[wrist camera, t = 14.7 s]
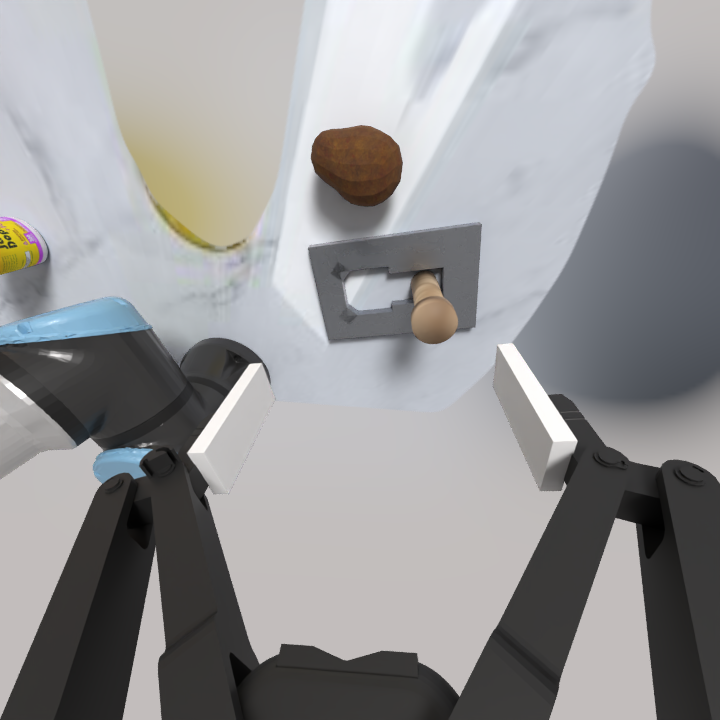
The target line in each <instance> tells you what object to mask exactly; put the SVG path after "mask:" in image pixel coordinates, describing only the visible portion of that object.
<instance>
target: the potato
mask: <svg viewBox="0 0 720 720" xmlns="http://www.w3.org/2000/svg"><path fill="white" fill-rule="evenodd" d="M311 160H312V163H313V166H314V170H315V173H316V174H317V175H318V176H319V177H320V178H322V179H323V180H324V181H325V182H326V183H327V184H329V185H330V186H331V187H333V188H334V189H336V190H337V192H338V193H339V194H340V195H341V196H342V197H343V198H344V199H346V200H347V201H349V202H350V203H351V204H355V205H359V206H375V205H377V204H380V203H382V202H384V201H385V200H386V199H387V198H388V197H390V196H391V195H392V194H393V192H394V190H395V189H396V187H397V186H398V184H399V182H400V180H401V172H402V164H403V162H402V157H401V153H400V148H399V145H398V144H397V143H396V142H395V141H394V140H393V139H392V138H391V137H390V136H389V135H387V134H385V133H383V132H382V131H380V130H378V129H375V128H373V127H371V126H363V125H360V126H355V127H350V128H343V129H330V130H326V131H323V132H321V133H320V134H319V135H318V136H317V137H316V139H315V141H314V143H313V145H312V153H311Z"/></svg>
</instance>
